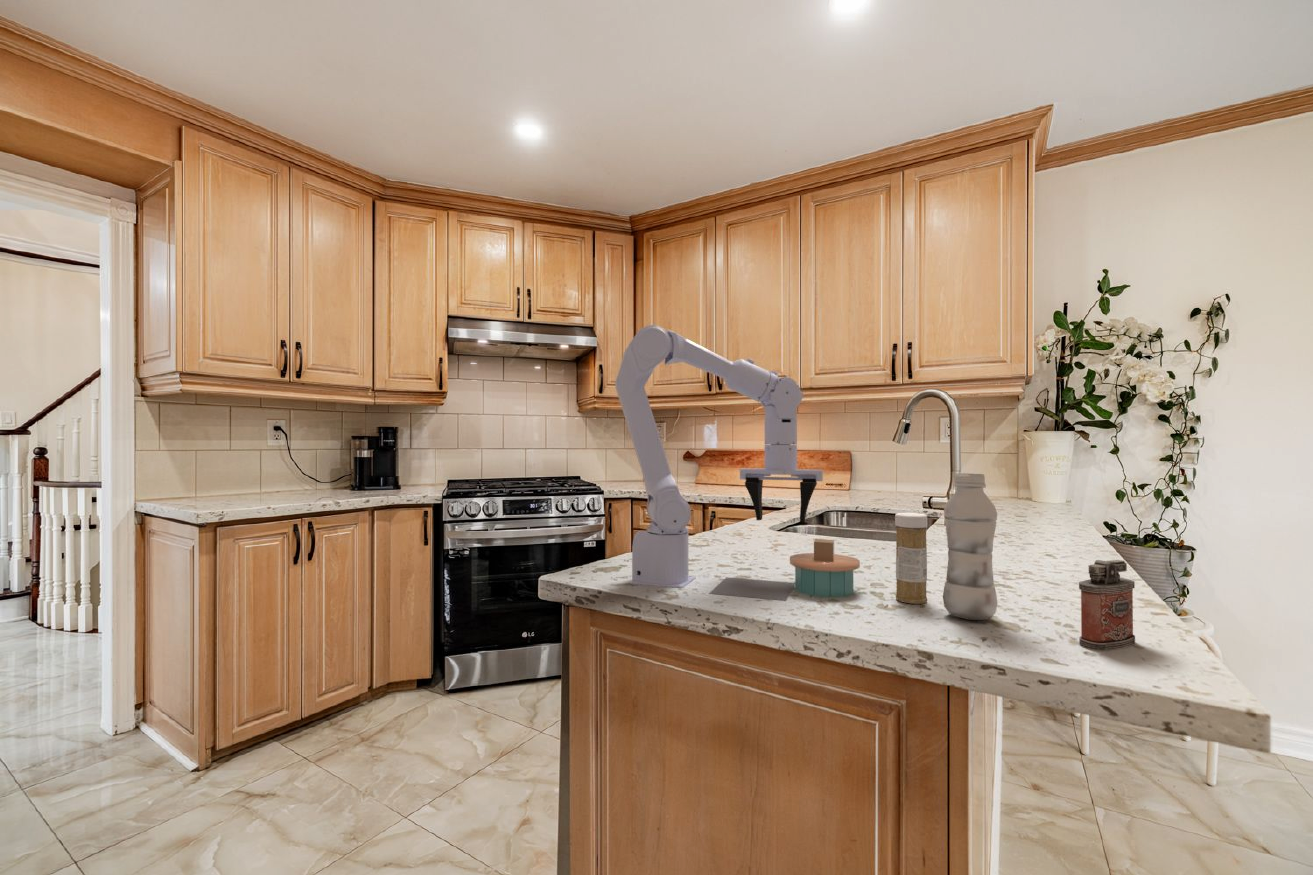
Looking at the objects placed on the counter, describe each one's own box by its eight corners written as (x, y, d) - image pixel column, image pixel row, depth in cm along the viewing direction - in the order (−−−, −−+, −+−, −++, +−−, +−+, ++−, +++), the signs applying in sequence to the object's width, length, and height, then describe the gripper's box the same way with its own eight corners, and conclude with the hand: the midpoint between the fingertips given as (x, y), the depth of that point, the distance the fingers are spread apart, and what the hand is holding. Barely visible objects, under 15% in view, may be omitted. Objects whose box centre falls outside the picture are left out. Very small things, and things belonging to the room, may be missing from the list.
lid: (785, 568, 92) (785, 544, 92) (793, 555, 102) (793, 534, 102) (859, 573, 88) (859, 548, 88) (860, 560, 98) (860, 537, 98)
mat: (709, 595, 92) (709, 593, 92) (726, 579, 104) (726, 577, 104) (785, 602, 88) (785, 600, 88) (795, 585, 99) (795, 582, 99)
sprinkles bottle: (904, 595, 93) (904, 511, 93) (933, 601, 89) (932, 513, 89) (889, 600, 90) (889, 513, 90) (918, 606, 86) (918, 516, 86)
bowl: (792, 596, 92) (792, 567, 92) (799, 583, 101) (799, 557, 101) (852, 601, 89) (852, 572, 89) (854, 587, 98) (853, 561, 98)
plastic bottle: (952, 608, 85) (951, 472, 86) (1004, 618, 80) (1003, 474, 81) (935, 617, 81) (934, 473, 81) (989, 628, 76) (988, 475, 76)
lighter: (1102, 653, 67) (1101, 566, 67) (1071, 643, 70) (1071, 561, 70) (1143, 643, 70) (1142, 560, 71) (1111, 635, 74) (1111, 556, 74)
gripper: (736, 444, 103) (736, 521, 103) (820, 444, 98) (820, 525, 98) (744, 444, 110) (744, 516, 110) (823, 445, 105) (823, 520, 105)
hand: (780, 520), depth 104 cm, fingers open, 7 cm apart
